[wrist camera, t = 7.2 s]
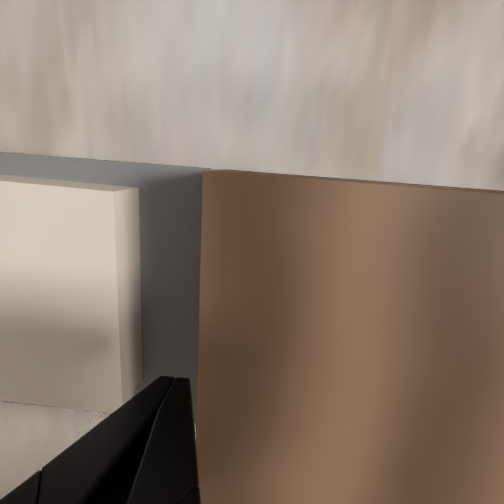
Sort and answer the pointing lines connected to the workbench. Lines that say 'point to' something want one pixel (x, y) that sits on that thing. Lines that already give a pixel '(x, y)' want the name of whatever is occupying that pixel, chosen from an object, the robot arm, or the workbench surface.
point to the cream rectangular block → (69, 293)
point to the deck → (349, 342)
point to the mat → (150, 251)
